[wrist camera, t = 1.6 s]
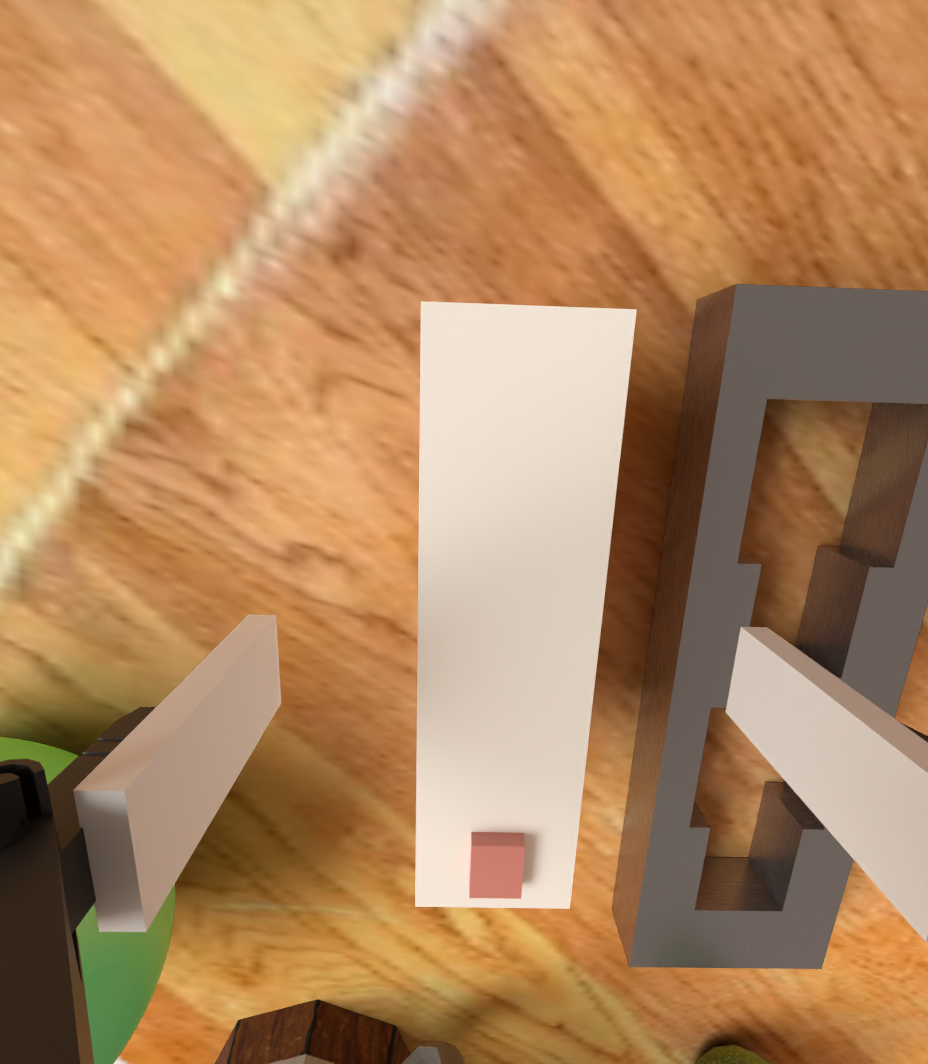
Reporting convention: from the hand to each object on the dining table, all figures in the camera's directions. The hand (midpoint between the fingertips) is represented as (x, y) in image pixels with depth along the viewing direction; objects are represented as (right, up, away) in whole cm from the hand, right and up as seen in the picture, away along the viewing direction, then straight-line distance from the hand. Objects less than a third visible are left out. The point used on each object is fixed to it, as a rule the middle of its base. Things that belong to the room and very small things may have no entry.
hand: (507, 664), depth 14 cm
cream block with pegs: (0, +3, +9) cm, 9 cm away
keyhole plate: (+13, -2, +10) cm, 17 cm away
